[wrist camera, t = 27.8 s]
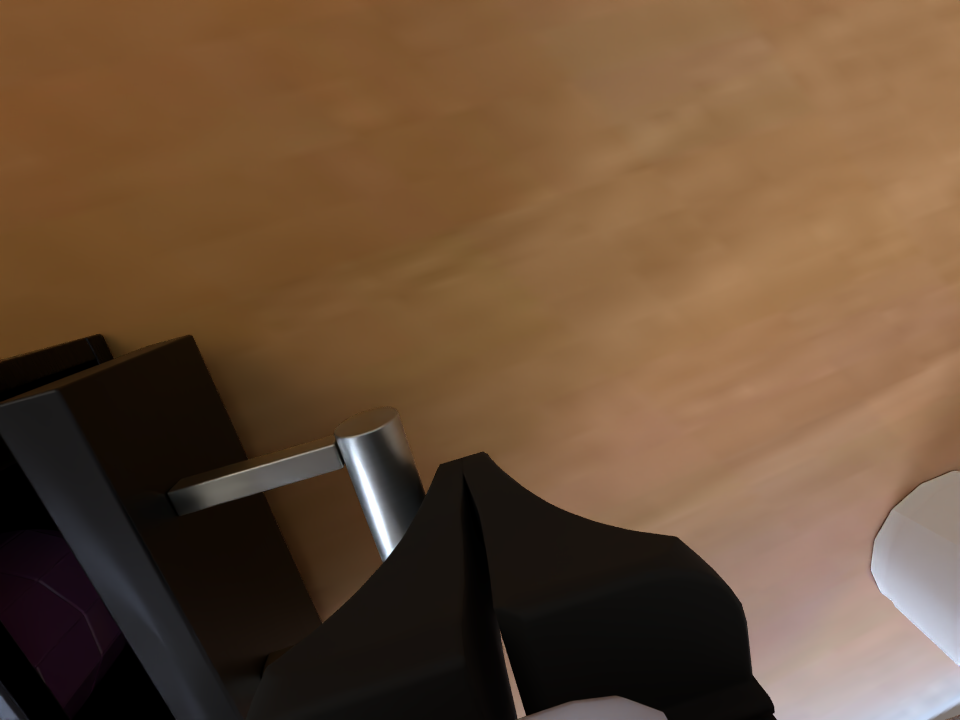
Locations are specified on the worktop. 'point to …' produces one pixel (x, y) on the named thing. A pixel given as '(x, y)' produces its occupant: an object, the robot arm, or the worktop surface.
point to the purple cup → (56, 615)
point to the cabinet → (3, 665)
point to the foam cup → (924, 560)
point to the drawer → (184, 522)
